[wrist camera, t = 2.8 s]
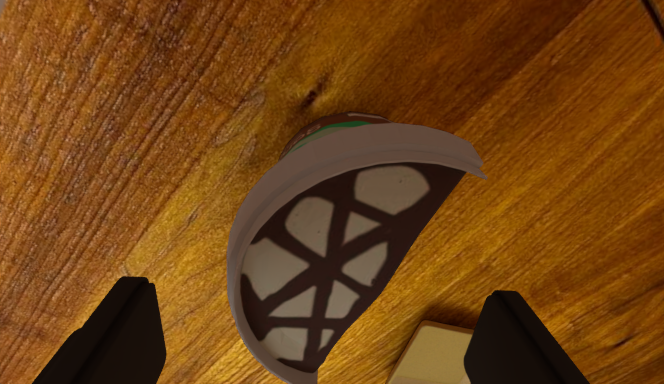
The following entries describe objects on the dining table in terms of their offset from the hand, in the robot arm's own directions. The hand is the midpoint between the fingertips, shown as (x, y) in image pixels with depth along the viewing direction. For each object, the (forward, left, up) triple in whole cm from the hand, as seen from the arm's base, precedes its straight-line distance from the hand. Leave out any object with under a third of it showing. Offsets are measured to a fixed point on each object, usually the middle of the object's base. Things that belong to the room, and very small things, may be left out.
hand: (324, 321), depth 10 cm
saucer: (+12, -16, -12) cm, 23 cm away
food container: (0, 0, -12) cm, 12 cm away
